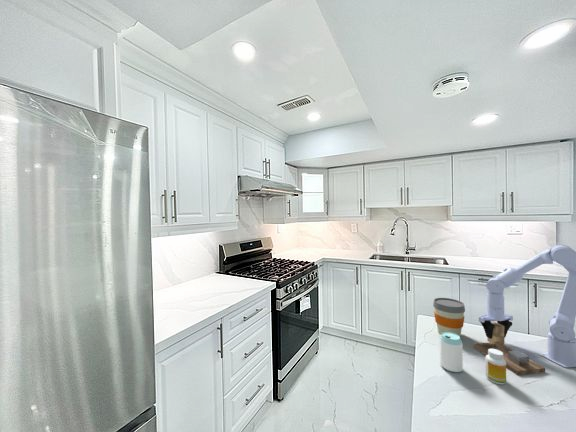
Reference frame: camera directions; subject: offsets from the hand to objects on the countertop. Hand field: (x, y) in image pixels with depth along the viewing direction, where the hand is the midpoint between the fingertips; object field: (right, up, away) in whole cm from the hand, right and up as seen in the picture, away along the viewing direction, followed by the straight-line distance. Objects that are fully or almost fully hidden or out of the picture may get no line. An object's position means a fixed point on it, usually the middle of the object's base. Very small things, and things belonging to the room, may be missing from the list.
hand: (495, 337), depth 107 cm
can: (-30, -4, -16) cm, 35 cm away
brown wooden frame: (-6, -3, -12) cm, 13 cm away
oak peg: (0, -2, 0) cm, 2 cm away
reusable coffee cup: (-15, -3, +9) cm, 17 cm away
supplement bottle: (-20, -3, -23) cm, 31 cm away
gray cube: (-5, -3, -16) cm, 17 cm away
